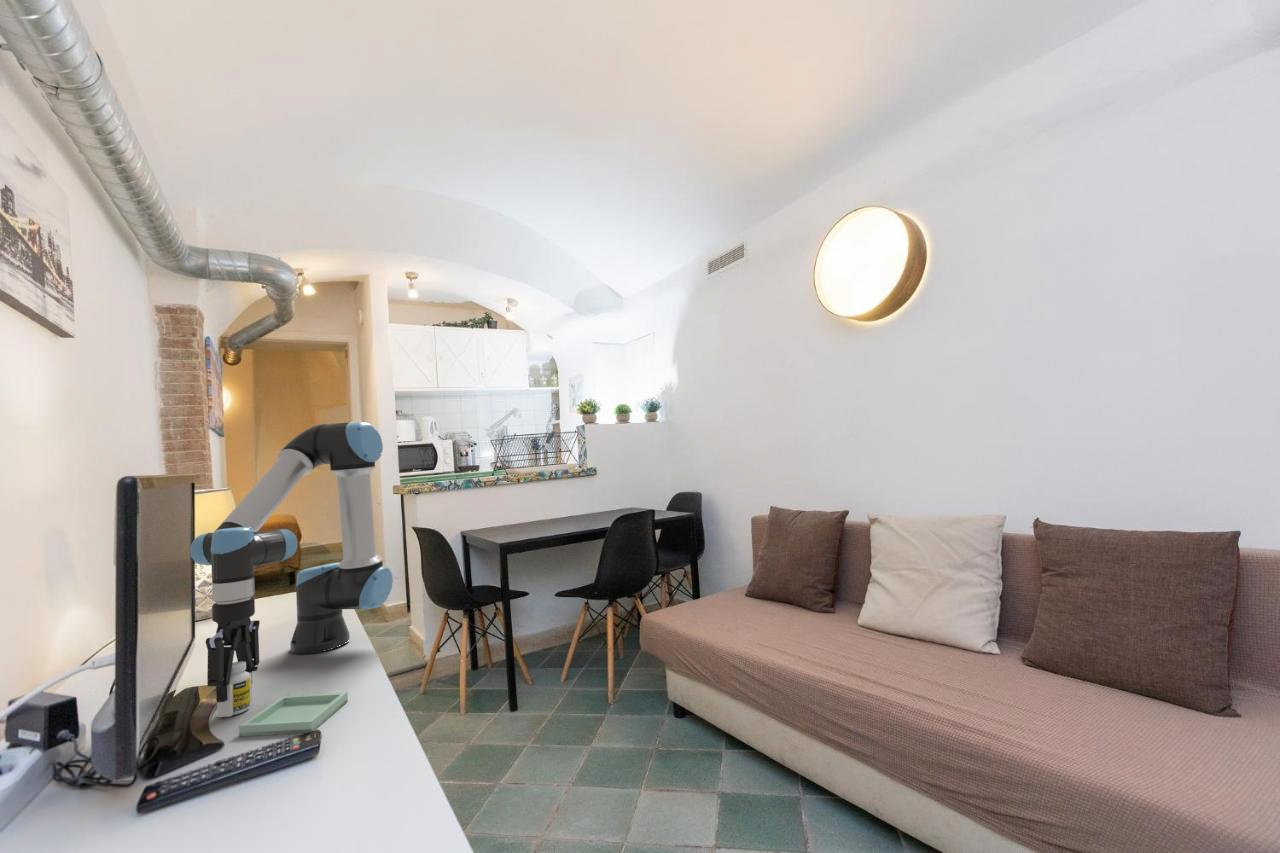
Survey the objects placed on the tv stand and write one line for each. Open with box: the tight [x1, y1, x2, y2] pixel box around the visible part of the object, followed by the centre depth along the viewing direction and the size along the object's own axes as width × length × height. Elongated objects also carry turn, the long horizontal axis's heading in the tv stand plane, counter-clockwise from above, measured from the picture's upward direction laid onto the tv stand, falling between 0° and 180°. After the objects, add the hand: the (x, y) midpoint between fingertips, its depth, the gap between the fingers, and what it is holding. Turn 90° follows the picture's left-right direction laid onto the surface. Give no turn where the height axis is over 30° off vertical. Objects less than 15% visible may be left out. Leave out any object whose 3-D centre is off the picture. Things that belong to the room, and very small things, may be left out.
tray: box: [238, 692, 349, 738], centre depth 118 cm, size 14×14×2 cm
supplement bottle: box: [223, 661, 251, 716], centre depth 123 cm, size 5×5×10 cm
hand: (235, 709), depth 123 cm, fingers closed on supplement bottle, 5 cm apart
